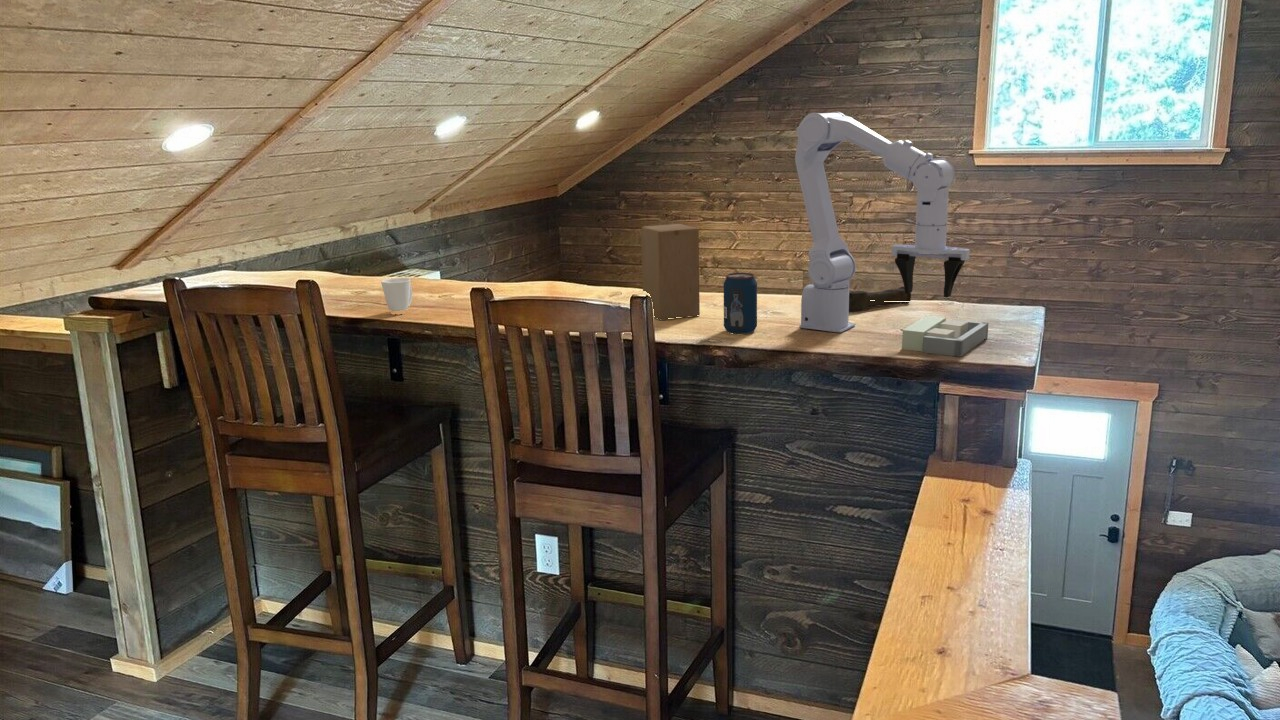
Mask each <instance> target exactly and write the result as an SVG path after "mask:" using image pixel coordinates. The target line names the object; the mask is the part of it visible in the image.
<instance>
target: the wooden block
mask: <svg viewBox="0 0 1280 720" xmlns="http://www.w3.org/2000/svg"><path fill="white" fill-rule="evenodd" d="M699 230H700V229H699V228H698V227H694V226H690V225H687V224H686V225H685V224H684V223H683V224H682V223H670V224H659V225H658V224H657V225H648V226H646V225H645V226H641V230H640V234H641V236H640V237H641V240H640V241H641V267H642V271H641V273H642V292H643V291H646V292H647V293H649V294H650V296H651V299H652V302H653V309H654V316H655V318H654V319H656V318H658V319H668V318H676V317H687V316H696V317H698V316H697V315H699V316H700V314H701V312H700V310H701V309H700V253H699V252H700V246H699V245H700V244H699V242H700V241H699V239H700V237H699V235H700V234H699V233H700V232H699ZM658 319H657V320H658Z"/></svg>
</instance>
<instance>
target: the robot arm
mask: <svg viewBox="0 0 1280 720" xmlns="http://www.w3.org/2000/svg"><path fill="white" fill-rule="evenodd" d="M795 131H796V134H797V143H796V144H797V145H796V149H795V157H794V162H795V166H796V171H797V175H798V180H799V184H800V188H801V194H802V198H803V202H804V206H805V211H806V216H807V220H808V225H809V231H810V233H811V234H810V235H811V239H812V246H811V247H810V249H809V251H808V255H807V256H808V259H809V260H808V261H809V264H808V269H807V271H808V272H807V273H808V277H809V280H810V281H811V284H807V285H805V287H804V288H803V290H802V294H801V299H800V300H801V303H800V304H801V305H800V307H801V308H800V325H799V328H800V329H807V330H813V331H821V332H822V331H824V332H833V333H843V332H845V331H847V330H849V329H851V328H853V327H855V326H856V322H849V318H850V317H849V313H850V312H849V293H850V284H851V279H852V278H853V277H854V276H855V273H856V270H857V264H856V259H855V258H854V257H853V255H852V254H851V253H850V250H849V247H848V244H847V243H846V241H844V239H842V237H841V236H840V233H839V229H838V224H837V219H836V214H835V210H834V205H833V202H832V197H831V192H830V188H829V184H828V183H829V182H828V177H827V175H826V171H825V170H826V169H825V166H824V162H825V161H826V159H827V157H828V156H829V154H830V153H831V151H832V150H833V149H835V148H836V147H837V146H839V145H840V144H841V143H843V142H850V143H852V144H854V145H856V146H858V147H860V148H863V149H864V150H866V151H868V152H870V153H872V154H874V155H876V156H878V157H879V158H880V157H881V158H882V161H883V165H884V167H885V168H887V169H888V170H890V171H892V172H894V173H896V174H897V175H899V176H901V177H903V178H904V179H906V180H908V181H910V182H912V185H913V186H914V187H915V190H916V191H917V193H916V194H917V198H916V212H915V213H916V217H915V234H914V235H915V237H914V238H915V239H914V244H892V245H891V256H893V257H896V258H895V259H894V264H895V265H896V267H897V268H898V270H899V273H900V276H901V279H902V283H903V287H904V289H905V293H906V294H909V293H911V294H912V292H913V289H914V288H913V287H914V269H915V263H916V257H917V258H920V257H921V258H931V259H932V258H933V259H945V261H943V267H944V269H943V270H944V286H943V297H944V298H949V297H951V295H952V291H953V288H954V285H955V282H956V279H957V277H958V275H959V273H960V271H961V270H962V268H963V266H964V264H965V261H968V260H970V253H971V252H970V251H971V250H970V248H961V247H953V246H947V232H948V231H947V230H948V216H949V214H948V213H949V194H950V193H949V192H950V187H951V185H952V184H953V183H954V181H955V174H956V172H955V169H954V166H953V165H952V163H950V162H949V161H948V160H947V159H946V158H935V159H934V154H933V153H931V152H926V153H925V152H924V151H922V150H920V149H918V148H916V147H915V146H913V145H914V143H913V141H910V140H908V139H906V140H904V141H903V140H901V139H900V140H897V141H893V142H892V141H890V140H889V139H887V138H886V137H884V136H882V135H880V134H878V133H877V132H876V131H874V130H872V129H870V128H868V126H866V125H864V124H862V123H861V122H860V121H857V120H856V119H854V118H853V117H851V116H848V115H845V114H844V113H842V112H841V111H832V112H823V113H822V112H821V113H820V112H812V113H809V114H807V115H805V116H804V117H803V119H802V120H801V122H800V123H799V124H798V127H797V128H796V130H795ZM946 259H947V260H946Z"/></svg>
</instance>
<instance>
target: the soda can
mask: <svg viewBox="0 0 1280 720" xmlns="http://www.w3.org/2000/svg"><path fill="white" fill-rule="evenodd" d="M757 326H758V283H757V280H756V278H755V274H754V273H749V272H732V273H728V274H726V278H725V280H724V281H723V327H724V329H725V330H726V332H727V333H728V332H729V333H728V334H730V333H733V334H732V335H737V334H744V335H750V334H753V333H754V332H755V331H756V329H757ZM749 333H750V334H749Z"/></svg>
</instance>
